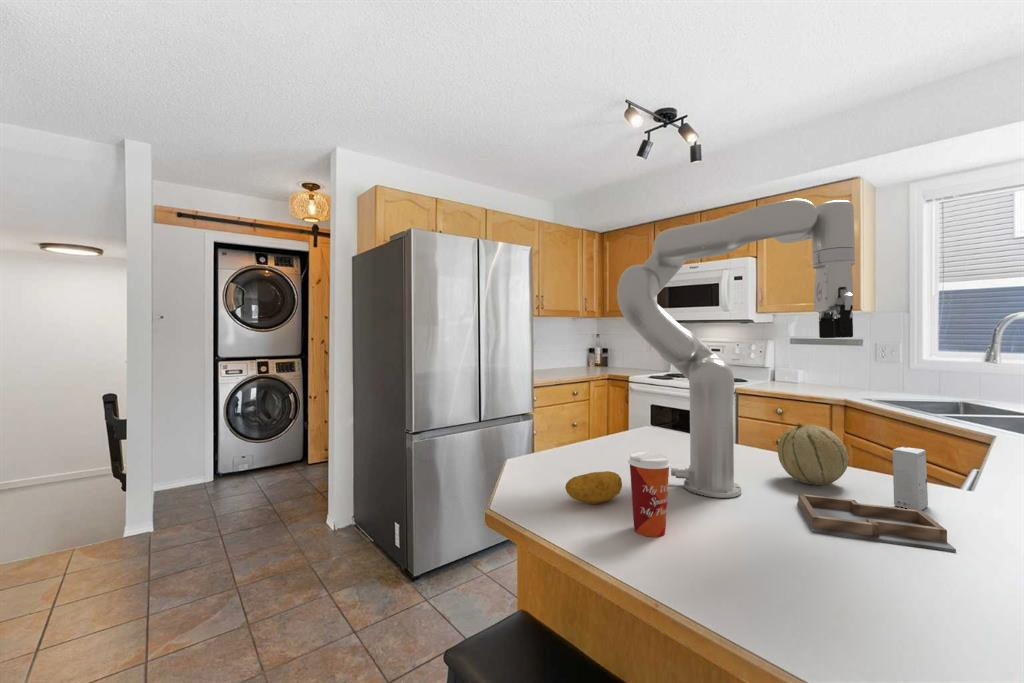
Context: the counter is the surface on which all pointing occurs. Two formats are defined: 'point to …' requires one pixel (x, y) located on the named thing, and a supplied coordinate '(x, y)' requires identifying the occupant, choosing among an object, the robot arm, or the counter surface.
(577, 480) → the potato
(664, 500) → the paper cup
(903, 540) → the angular wooden tray
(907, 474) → the skincare box
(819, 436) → the cantaloupe
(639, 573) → the counter surface
